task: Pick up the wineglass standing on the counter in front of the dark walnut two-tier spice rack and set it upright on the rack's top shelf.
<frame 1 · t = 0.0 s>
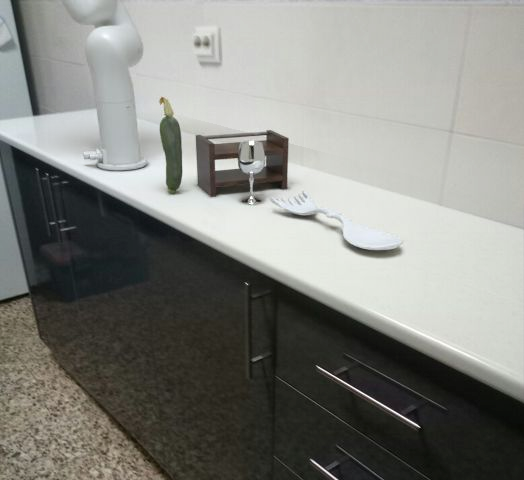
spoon: (334, 231, 110), on the worktop
wineglass: (251, 201, 125), on the worktop
rack: (242, 187, 135), on the worktop
vegetable: (174, 195, 129), on the worktop
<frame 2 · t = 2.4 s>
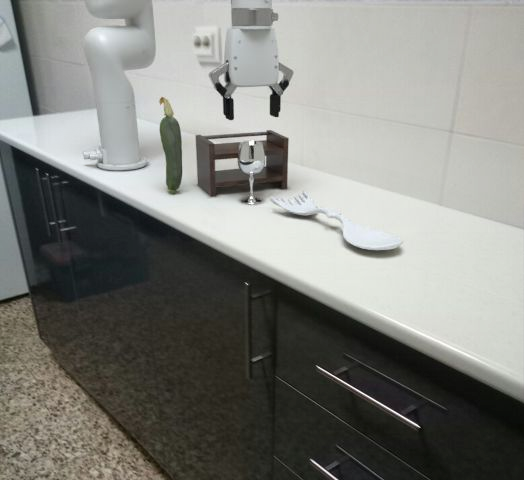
hand: (252, 117, 117), 17 cm above the worktop, tool pointing down, fingers open, 9 cm apart
nothing on the worktop moved.
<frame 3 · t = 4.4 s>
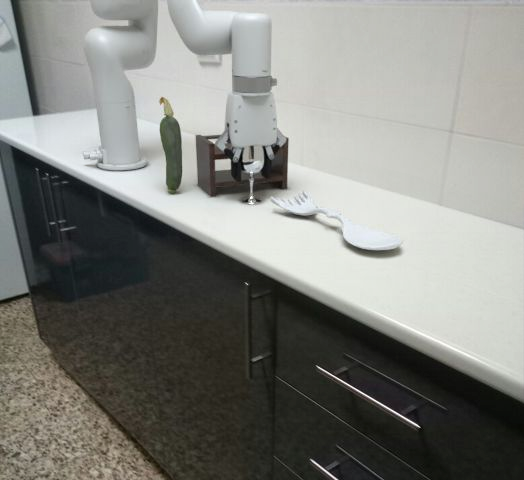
hand: (251, 178, 123), 5 cm above the worktop, tool pointing down, fingers closed on wineglass, 5 cm apart
wineglass: (251, 201, 125), on the worktop, touching gripper
everything else where it was.
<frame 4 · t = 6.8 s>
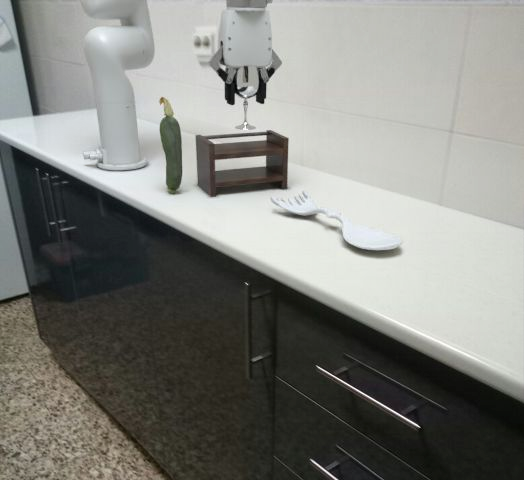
hand: (245, 102, 120), 19 cm above the worktop, tool pointing down, fingers closed on wineglass, 5 cm apart
wineglass: (245, 128, 122), point 14 cm above the worktop, touching gripper
everything else where it was.
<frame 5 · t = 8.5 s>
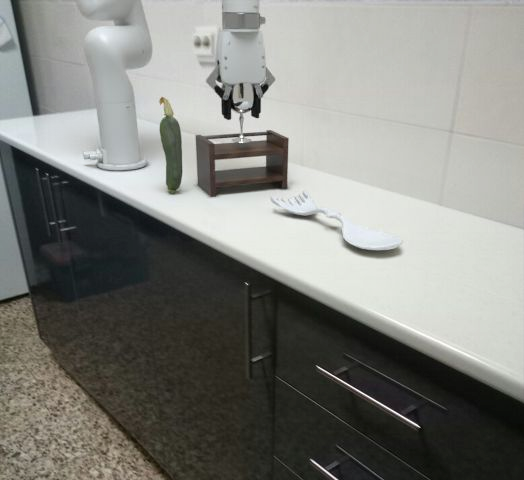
hand: (241, 117, 127), 15 cm above the worktop, tool pointing down, fingers closed on wineglass, 5 cm apart
wineglass: (241, 141, 129), point 10 cm above the worktop, touching gripper
everything else where it was.
when the fingers open (14 cm above the worktop, at t = 9.4 s): wineglass stays where it is, resting on rack.
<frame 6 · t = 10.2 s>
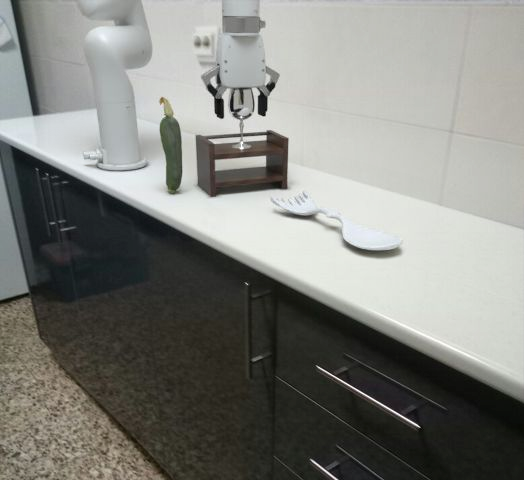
hand: (241, 116, 127), 15 cm above the worktop, tool pointing down, fingers open, 9 cm apart
wineglass: (241, 147, 130), point 9 cm above the worktop, touching rack
everything else where it was.
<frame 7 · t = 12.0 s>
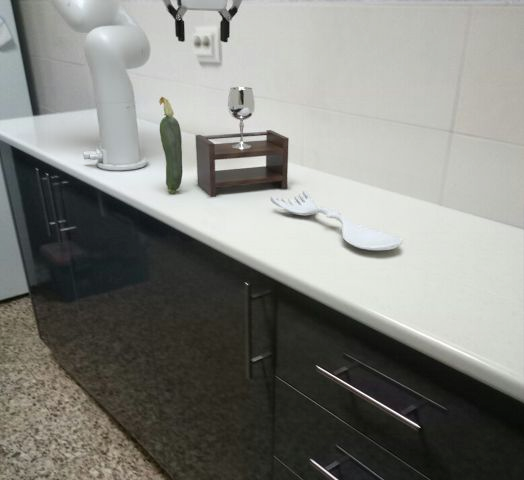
hand: (202, 41, 126), 29 cm above the worktop, tool pointing down, fingers open, 9 cm apart
nothing on the worktop moved.
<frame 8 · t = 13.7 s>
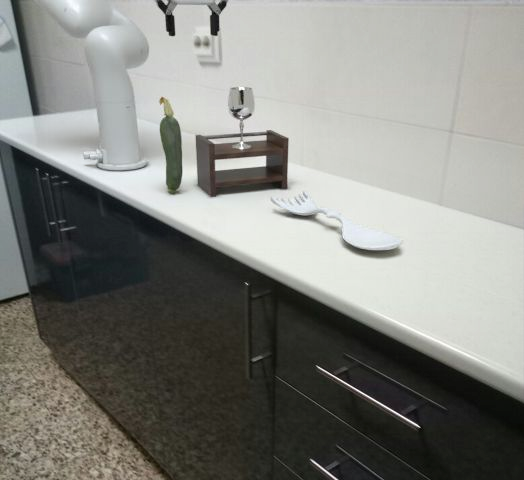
hand: (193, 35, 128), 30 cm above the worktop, tool pointing down, fingers open, 9 cm apart
nothing on the worktop moved.
at the end: wineglass inside the target area on the rack (0.0 cm from its centre), point 8.8 cm above the rack's base; wineglass tilted 0°; the gripper is holding nothing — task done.
